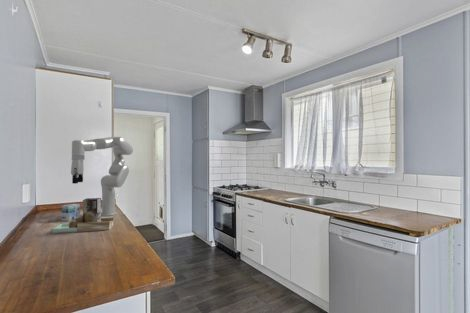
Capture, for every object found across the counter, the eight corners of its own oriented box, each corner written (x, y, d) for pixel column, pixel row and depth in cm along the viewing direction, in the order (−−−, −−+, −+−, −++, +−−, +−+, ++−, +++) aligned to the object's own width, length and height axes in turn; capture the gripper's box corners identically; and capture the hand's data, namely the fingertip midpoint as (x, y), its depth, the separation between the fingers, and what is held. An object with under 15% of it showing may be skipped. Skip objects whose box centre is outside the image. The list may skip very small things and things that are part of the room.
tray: (60, 227, 162) (60, 223, 162) (84, 226, 166) (84, 222, 166) (51, 233, 149) (51, 229, 149) (76, 231, 152) (76, 227, 153)
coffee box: (101, 222, 164) (101, 197, 165) (97, 224, 158) (97, 199, 158) (86, 222, 163) (87, 198, 163) (82, 225, 157) (82, 199, 157)
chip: (78, 227, 161) (72, 227, 161) (79, 220, 161) (72, 221, 161) (75, 228, 157) (68, 228, 157) (75, 222, 157) (69, 222, 157)
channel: (84, 226, 165) (84, 218, 165) (113, 224, 170) (113, 217, 170) (77, 231, 153) (77, 223, 153) (109, 229, 157) (109, 221, 157)
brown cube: (79, 223, 161) (79, 217, 161) (85, 223, 161) (85, 217, 161) (75, 225, 157) (75, 218, 157) (82, 224, 157) (82, 218, 157)
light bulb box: (69, 221, 178) (69, 206, 178) (60, 220, 179) (61, 205, 180) (80, 217, 189) (80, 203, 189) (72, 217, 190) (72, 203, 190)
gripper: (76, 158, 180) (76, 181, 180) (66, 158, 163) (66, 184, 163) (88, 158, 182) (87, 181, 182) (79, 158, 165) (79, 183, 165)
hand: (77, 182), depth 172 cm, fingers open, 9 cm apart
